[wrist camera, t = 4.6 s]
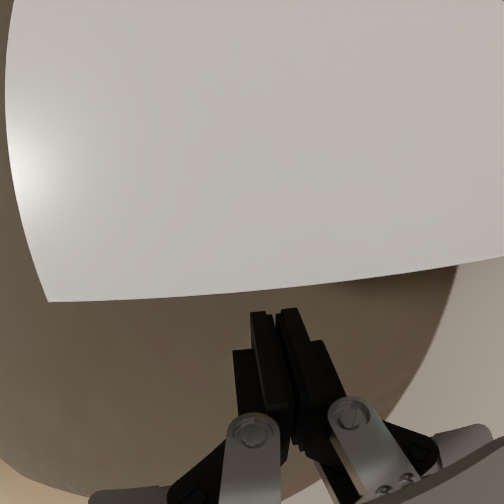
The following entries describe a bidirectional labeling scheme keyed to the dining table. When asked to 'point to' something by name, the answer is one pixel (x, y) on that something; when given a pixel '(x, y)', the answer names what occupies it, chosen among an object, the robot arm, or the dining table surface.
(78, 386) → the dining table surface
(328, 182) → the unit
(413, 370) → the dining table surface
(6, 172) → the dining table surface
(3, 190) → the dining table surface
